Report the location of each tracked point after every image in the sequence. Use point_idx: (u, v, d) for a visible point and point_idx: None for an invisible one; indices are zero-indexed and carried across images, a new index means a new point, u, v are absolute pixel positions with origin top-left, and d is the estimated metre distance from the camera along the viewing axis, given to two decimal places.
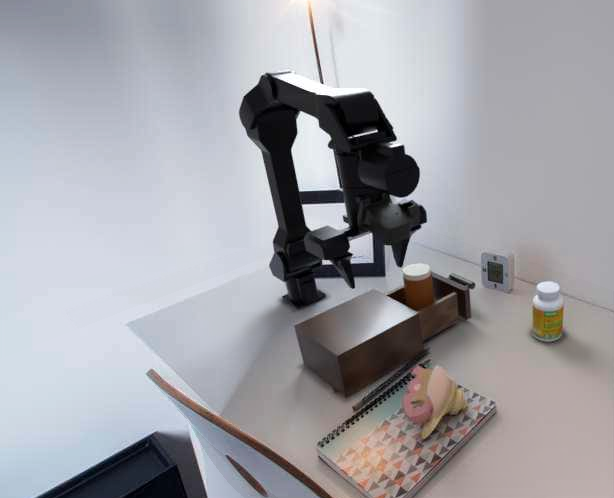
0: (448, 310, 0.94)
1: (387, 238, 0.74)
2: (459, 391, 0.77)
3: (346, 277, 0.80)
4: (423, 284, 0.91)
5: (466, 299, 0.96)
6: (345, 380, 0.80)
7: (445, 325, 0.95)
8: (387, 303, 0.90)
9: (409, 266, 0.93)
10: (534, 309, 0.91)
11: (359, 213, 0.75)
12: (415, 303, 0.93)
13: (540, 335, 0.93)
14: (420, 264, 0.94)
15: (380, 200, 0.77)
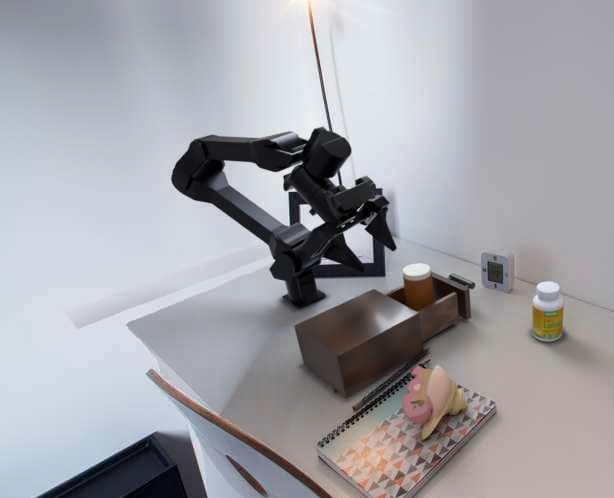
0: (448, 310, 0.94)
1: (356, 198, 0.88)
2: (459, 391, 0.77)
3: (353, 261, 0.90)
4: (423, 284, 0.91)
5: (466, 299, 0.96)
6: (345, 380, 0.80)
7: (445, 325, 0.95)
8: (387, 303, 0.90)
9: (409, 266, 0.93)
10: (534, 309, 0.91)
11: (329, 204, 0.90)
12: (415, 303, 0.93)
13: (540, 335, 0.93)
14: (420, 264, 0.94)
15: (340, 192, 0.92)
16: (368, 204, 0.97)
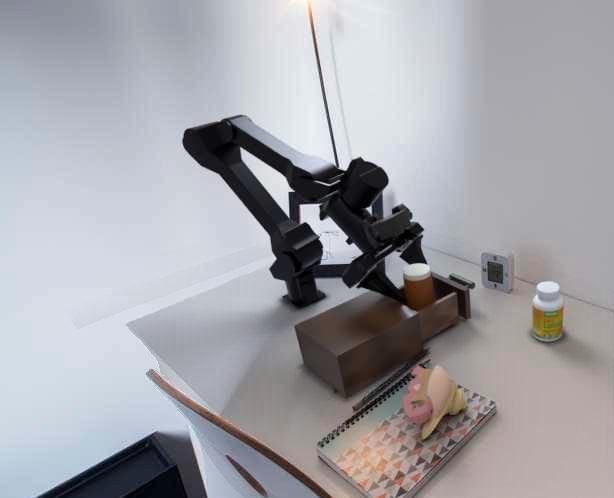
0: (448, 310, 0.94)
1: (395, 228, 0.87)
2: (459, 391, 0.77)
3: (392, 291, 0.90)
4: (423, 284, 0.91)
5: (466, 299, 0.96)
6: (345, 380, 0.80)
7: (445, 325, 0.95)
8: (387, 303, 0.90)
9: (409, 266, 0.93)
10: (534, 309, 0.91)
11: (367, 234, 0.90)
12: (415, 303, 0.93)
13: (540, 335, 0.93)
14: (420, 264, 0.94)
15: (376, 221, 0.92)
16: (403, 231, 0.97)
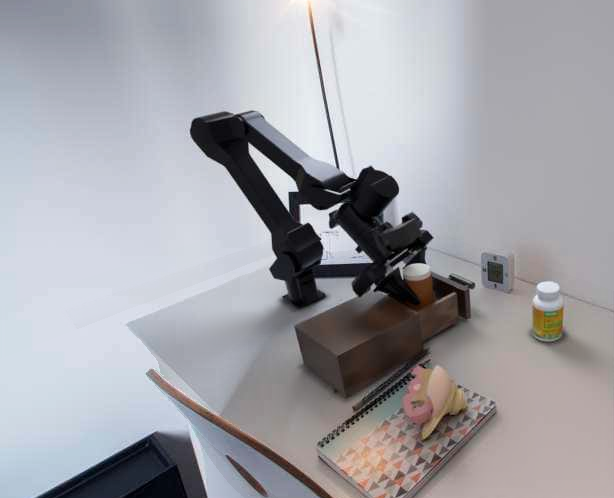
0: (448, 310, 0.94)
1: (405, 237, 0.87)
2: (459, 391, 0.77)
3: (408, 294, 0.91)
4: (423, 284, 0.91)
5: (466, 299, 0.96)
6: (345, 380, 0.80)
7: (445, 325, 0.95)
8: (387, 303, 0.90)
9: (409, 266, 0.93)
10: (534, 309, 0.91)
11: (377, 243, 0.90)
12: None
13: (540, 335, 0.93)
14: (420, 264, 0.94)
15: (386, 229, 0.92)
16: None
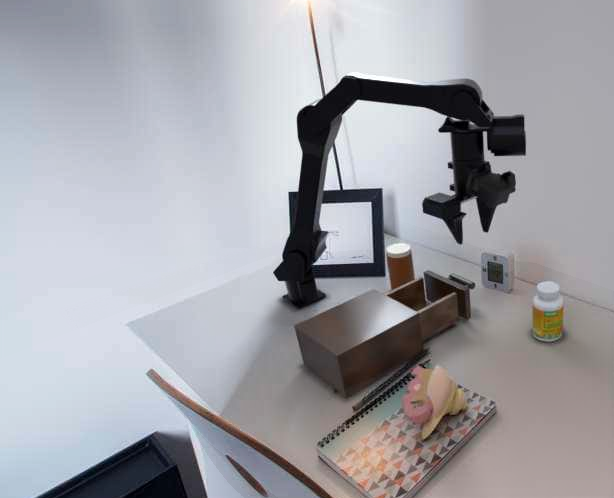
0: (448, 310, 0.94)
1: (492, 201, 0.90)
2: (459, 391, 0.77)
3: (457, 234, 0.97)
4: (406, 260, 1.04)
5: (466, 299, 0.96)
6: (345, 380, 0.80)
7: (445, 325, 0.95)
8: (387, 303, 0.90)
9: (390, 246, 1.06)
10: (534, 309, 0.91)
11: (468, 181, 0.91)
12: (399, 278, 1.05)
13: (540, 335, 0.93)
14: (400, 244, 1.07)
15: (483, 171, 0.93)
16: None
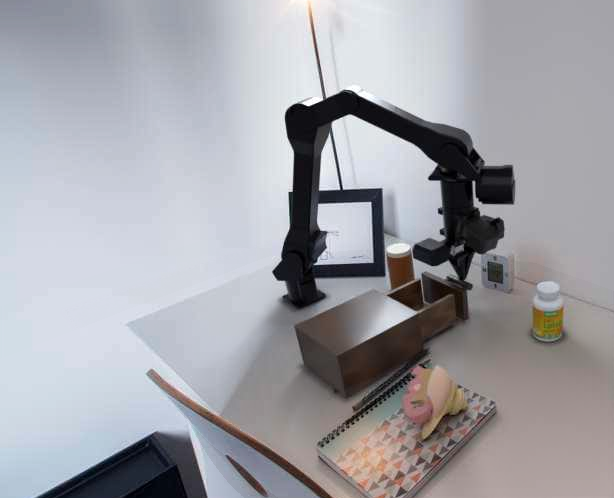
0: (445, 311, 0.94)
1: (481, 249, 0.92)
2: (459, 391, 0.77)
3: (459, 271, 1.00)
4: (406, 260, 1.04)
5: (463, 300, 0.96)
6: (345, 380, 0.80)
7: (443, 326, 0.95)
8: (387, 303, 0.90)
9: (390, 246, 1.06)
10: (534, 309, 0.91)
11: (457, 228, 0.93)
12: (399, 278, 1.05)
13: (540, 335, 0.93)
14: (400, 244, 1.07)
15: (473, 217, 0.95)
16: None
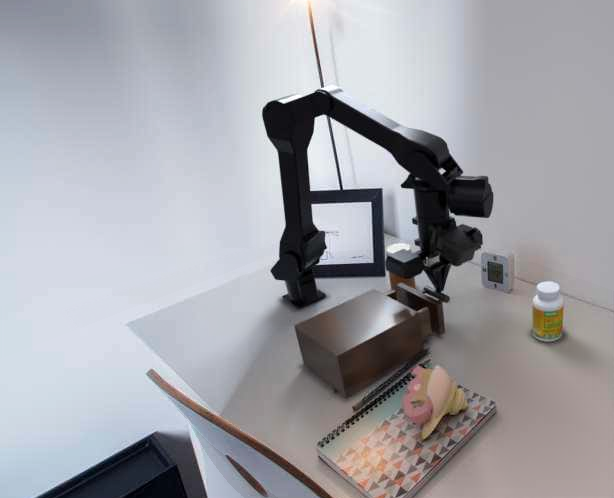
0: None
1: (456, 260, 0.88)
2: (459, 391, 0.77)
3: (436, 283, 0.97)
4: None
5: (439, 314, 0.92)
6: (345, 380, 0.80)
7: None
8: (387, 303, 0.90)
9: (390, 246, 1.06)
10: (534, 309, 0.91)
11: (432, 239, 0.89)
12: (399, 278, 1.05)
13: (540, 335, 0.93)
14: (400, 244, 1.07)
15: (448, 227, 0.91)
16: None
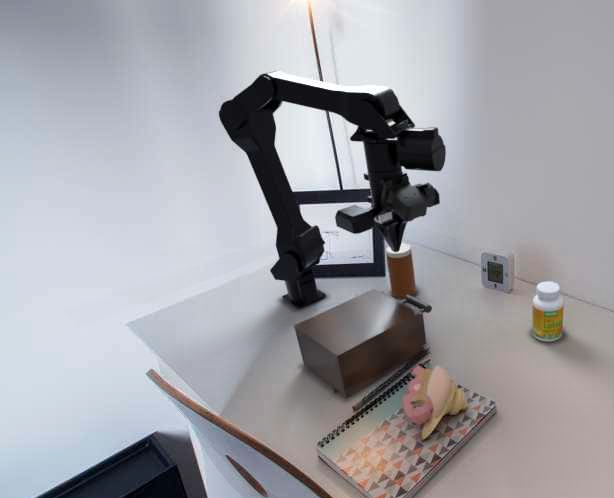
0: None
1: (407, 215, 0.86)
2: (459, 391, 0.77)
3: (391, 242, 0.95)
4: (406, 260, 1.04)
5: None
6: (345, 380, 0.80)
7: None
8: (387, 303, 0.90)
9: None
10: (534, 309, 0.91)
11: (383, 193, 0.87)
12: (399, 278, 1.05)
13: (540, 335, 0.93)
14: None
15: (400, 183, 0.89)
16: None
